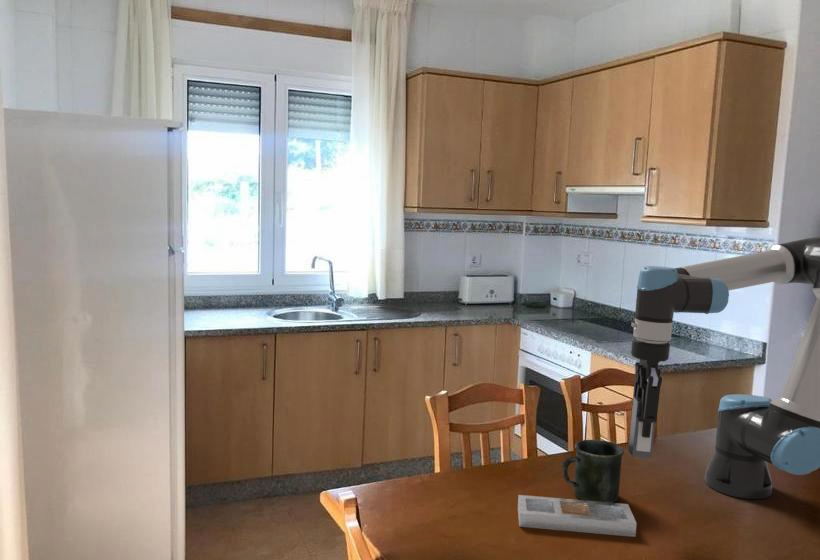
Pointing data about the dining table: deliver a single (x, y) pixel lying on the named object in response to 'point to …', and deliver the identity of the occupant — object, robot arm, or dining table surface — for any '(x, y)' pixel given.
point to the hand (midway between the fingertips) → (640, 446)
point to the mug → (595, 470)
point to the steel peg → (634, 431)
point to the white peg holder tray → (576, 515)
